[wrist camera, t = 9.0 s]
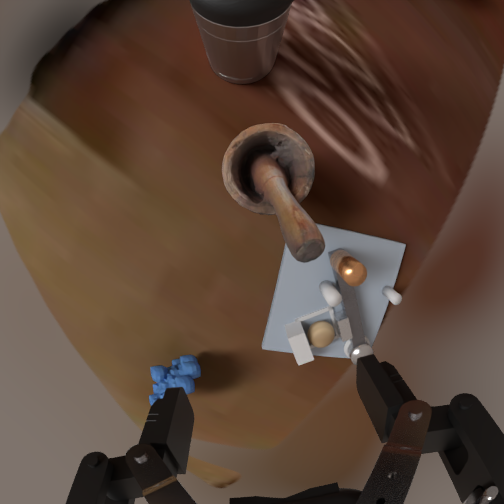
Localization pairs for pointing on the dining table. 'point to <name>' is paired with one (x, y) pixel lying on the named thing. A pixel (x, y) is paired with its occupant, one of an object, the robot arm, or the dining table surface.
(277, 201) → the mortar and pestle
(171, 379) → the blue lumpy cluster
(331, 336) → the hazelnut
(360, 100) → the dining table surface
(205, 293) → the dining table surface
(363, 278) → the lever
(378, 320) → the nutcracker base
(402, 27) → the dining table surface
